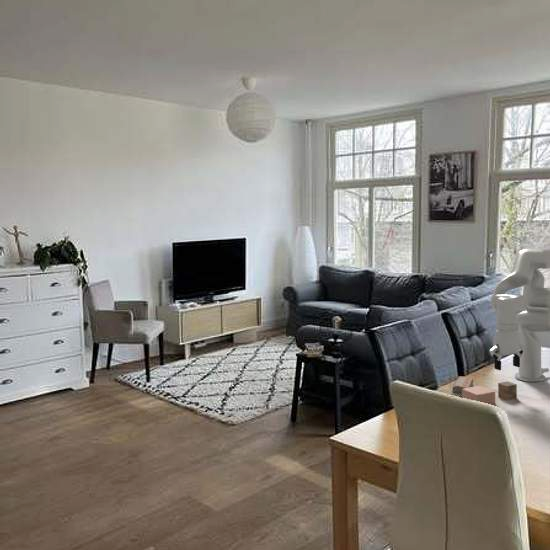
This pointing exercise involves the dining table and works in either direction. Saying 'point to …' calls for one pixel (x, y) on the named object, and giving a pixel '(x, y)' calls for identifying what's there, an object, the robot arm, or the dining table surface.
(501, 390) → the walnut block
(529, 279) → the robot arm
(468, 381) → the packaged product
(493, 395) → the base block
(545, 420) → the dining table surface
